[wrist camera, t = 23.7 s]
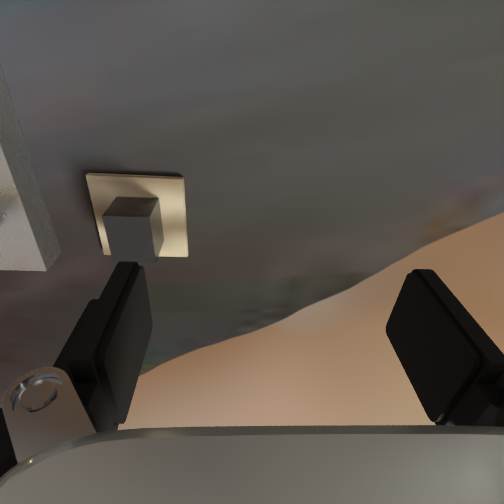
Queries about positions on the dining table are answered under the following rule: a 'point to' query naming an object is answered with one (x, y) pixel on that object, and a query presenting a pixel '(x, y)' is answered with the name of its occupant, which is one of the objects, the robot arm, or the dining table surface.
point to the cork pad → (160, 187)
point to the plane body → (21, 199)
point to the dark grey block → (134, 229)
